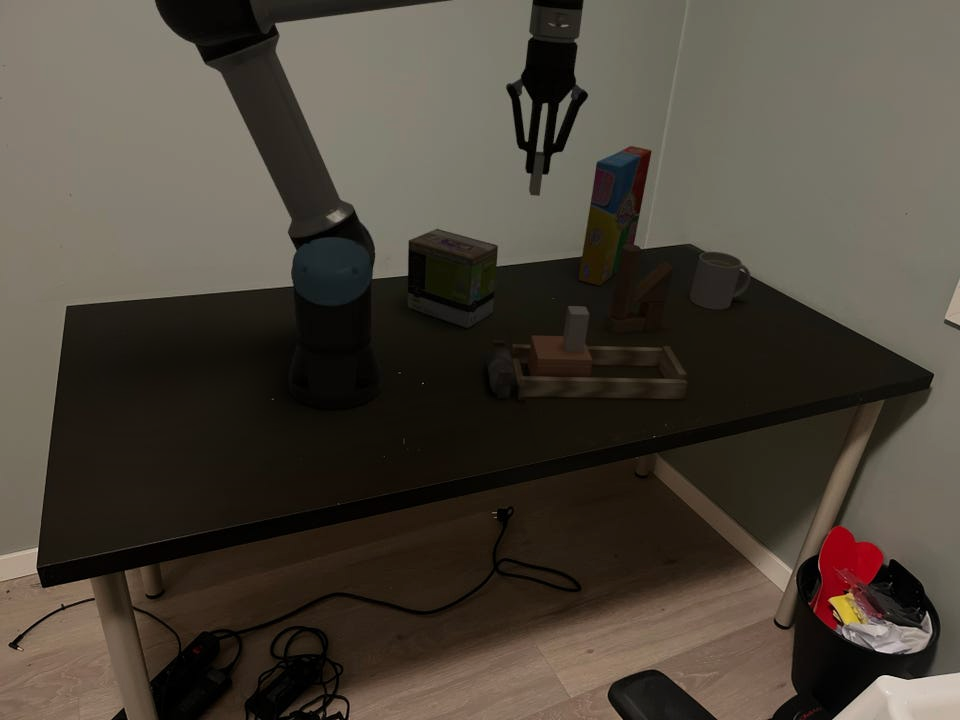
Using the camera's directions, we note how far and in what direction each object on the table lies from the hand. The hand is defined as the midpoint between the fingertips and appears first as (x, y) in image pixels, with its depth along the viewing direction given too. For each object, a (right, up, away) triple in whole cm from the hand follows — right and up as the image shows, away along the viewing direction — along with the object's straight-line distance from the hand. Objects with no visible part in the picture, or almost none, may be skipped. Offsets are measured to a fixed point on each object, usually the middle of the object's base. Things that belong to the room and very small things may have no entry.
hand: (534, 192), depth 118 cm
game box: (+21, -7, +51) cm, 55 cm away
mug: (+43, -15, +39) cm, 60 cm away
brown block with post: (+4, -31, +4) cm, 31 cm away
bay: (+8, -32, +5) cm, 33 cm away
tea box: (-15, -18, +26) cm, 35 cm away
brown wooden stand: (+21, -22, +24) cm, 39 cm away
